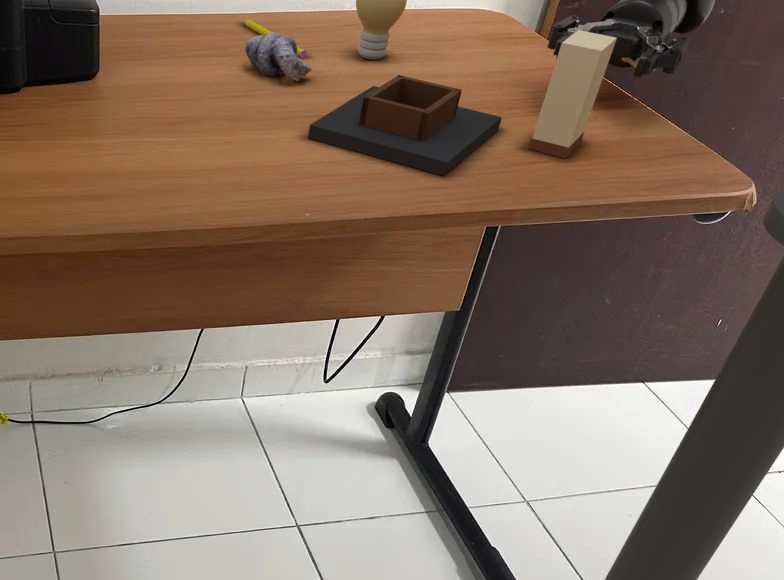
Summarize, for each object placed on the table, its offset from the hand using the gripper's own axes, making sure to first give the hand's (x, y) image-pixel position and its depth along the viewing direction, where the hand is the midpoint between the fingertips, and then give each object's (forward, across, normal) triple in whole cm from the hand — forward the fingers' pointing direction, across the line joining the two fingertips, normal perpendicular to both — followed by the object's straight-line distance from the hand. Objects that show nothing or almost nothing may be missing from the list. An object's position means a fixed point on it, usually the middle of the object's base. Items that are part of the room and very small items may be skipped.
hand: (599, 59), depth 100 cm
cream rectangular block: (+9, 0, +7) cm, 11 cm away
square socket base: (+16, -14, +7) cm, 23 cm away
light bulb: (-6, -30, +7) cm, 31 cm away
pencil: (-4, -44, +7) cm, 44 cm away
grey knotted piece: (+8, -36, +7) cm, 38 cm away
